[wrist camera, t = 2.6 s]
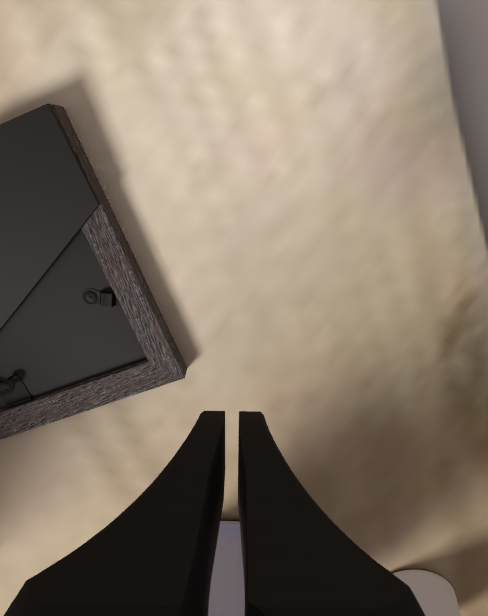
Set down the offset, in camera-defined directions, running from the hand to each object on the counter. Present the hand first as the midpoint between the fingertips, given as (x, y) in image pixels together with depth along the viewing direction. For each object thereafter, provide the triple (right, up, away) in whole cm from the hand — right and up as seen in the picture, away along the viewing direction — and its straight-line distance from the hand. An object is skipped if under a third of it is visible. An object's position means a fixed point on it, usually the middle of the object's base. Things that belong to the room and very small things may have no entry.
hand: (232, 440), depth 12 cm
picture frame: (-13, +4, +9) cm, 17 cm away
